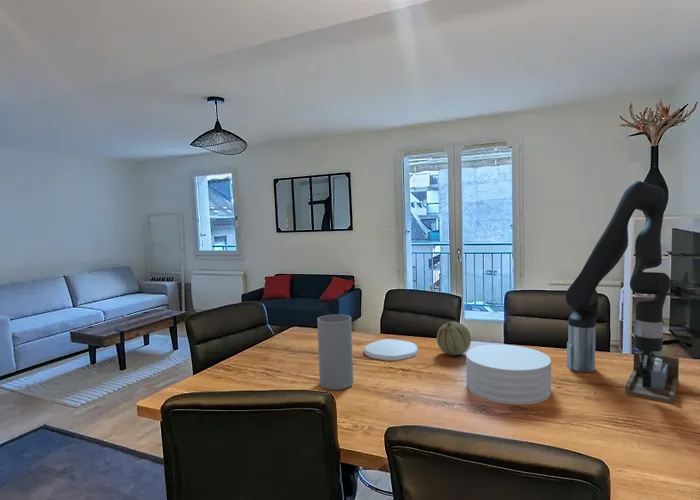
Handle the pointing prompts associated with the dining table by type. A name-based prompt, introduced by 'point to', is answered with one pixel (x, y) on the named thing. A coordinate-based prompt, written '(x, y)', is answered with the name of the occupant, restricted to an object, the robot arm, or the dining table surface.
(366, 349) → the decorative plate
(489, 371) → the plate stack
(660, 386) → the caddy
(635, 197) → the robot arm
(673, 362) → the shelf
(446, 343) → the cantaloupe
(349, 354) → the cylinder vase
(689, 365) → the dining table surface
